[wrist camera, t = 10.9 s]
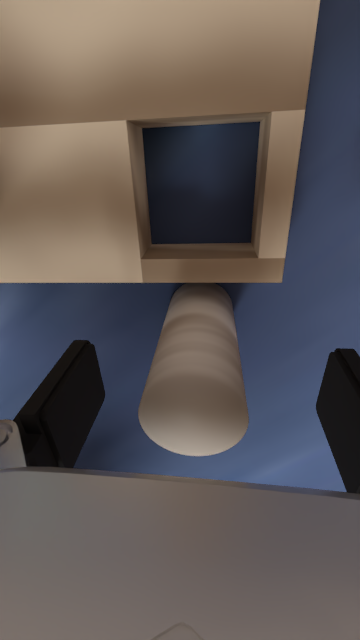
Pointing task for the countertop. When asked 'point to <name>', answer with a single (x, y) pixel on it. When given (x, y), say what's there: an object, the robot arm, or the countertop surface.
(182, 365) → the loose leg
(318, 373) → the countertop surface
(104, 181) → the wooden board with pegs
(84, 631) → the robot arm
